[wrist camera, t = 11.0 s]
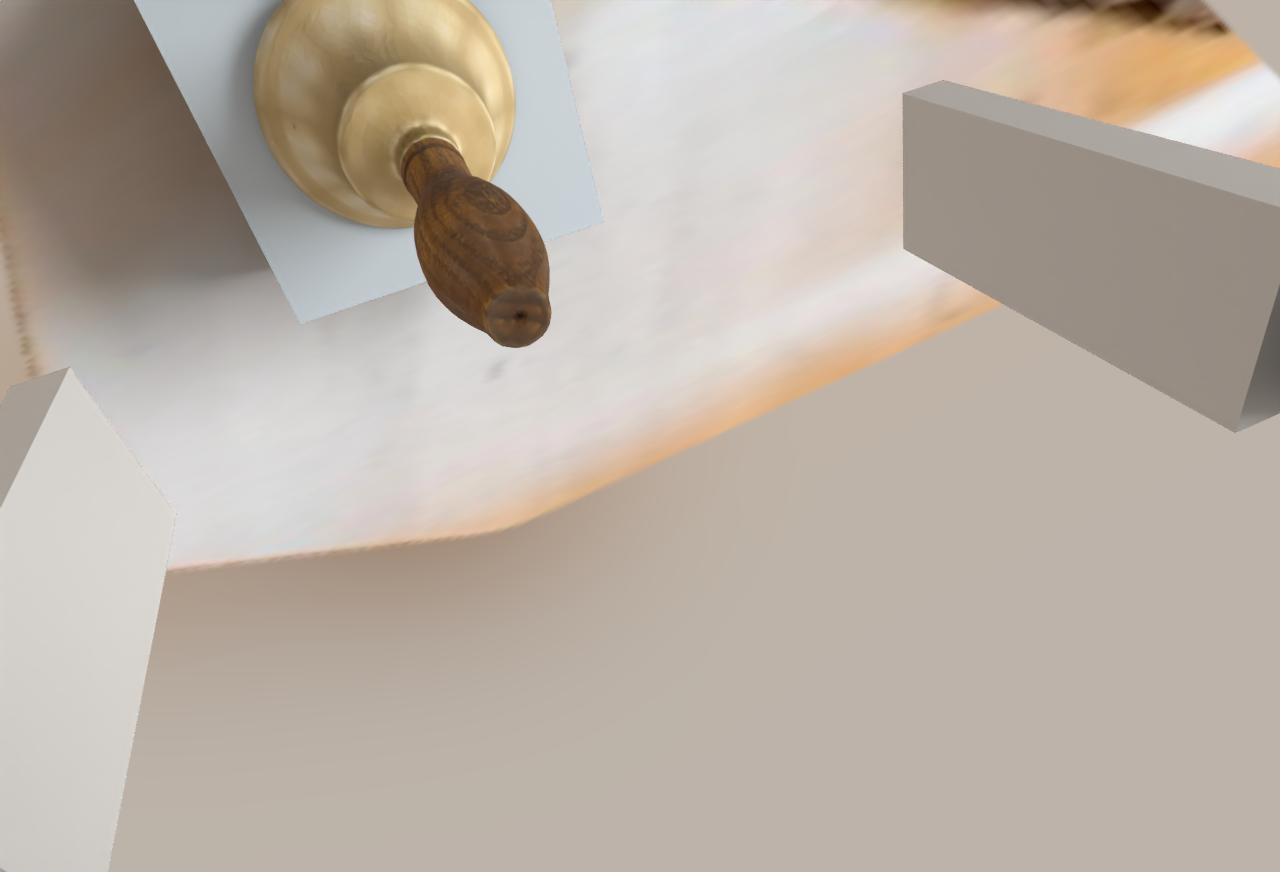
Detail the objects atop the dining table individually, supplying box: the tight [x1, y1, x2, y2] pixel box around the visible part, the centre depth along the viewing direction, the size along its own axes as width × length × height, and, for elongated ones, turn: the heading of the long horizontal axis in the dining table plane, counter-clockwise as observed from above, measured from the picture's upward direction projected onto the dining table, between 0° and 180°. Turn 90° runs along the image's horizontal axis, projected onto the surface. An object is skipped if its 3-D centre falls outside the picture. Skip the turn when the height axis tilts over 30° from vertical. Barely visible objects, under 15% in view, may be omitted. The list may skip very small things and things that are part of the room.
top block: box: [134, 0, 604, 324], centre depth 29 cm, size 12×12×4 cm
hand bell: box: [253, 0, 551, 348], centre depth 21 cm, size 8×8×16 cm
